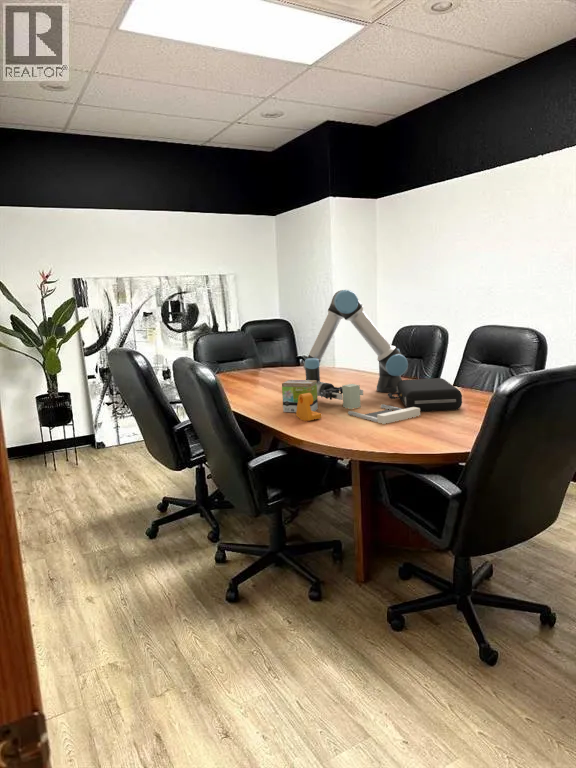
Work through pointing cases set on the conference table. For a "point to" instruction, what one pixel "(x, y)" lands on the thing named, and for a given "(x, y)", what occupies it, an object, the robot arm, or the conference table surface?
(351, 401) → the block
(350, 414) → the track rails
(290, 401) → the tea box
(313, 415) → the bracket
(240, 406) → the conference table surface
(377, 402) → the conference table surface
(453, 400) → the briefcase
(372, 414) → the stop pad
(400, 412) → the end stop
